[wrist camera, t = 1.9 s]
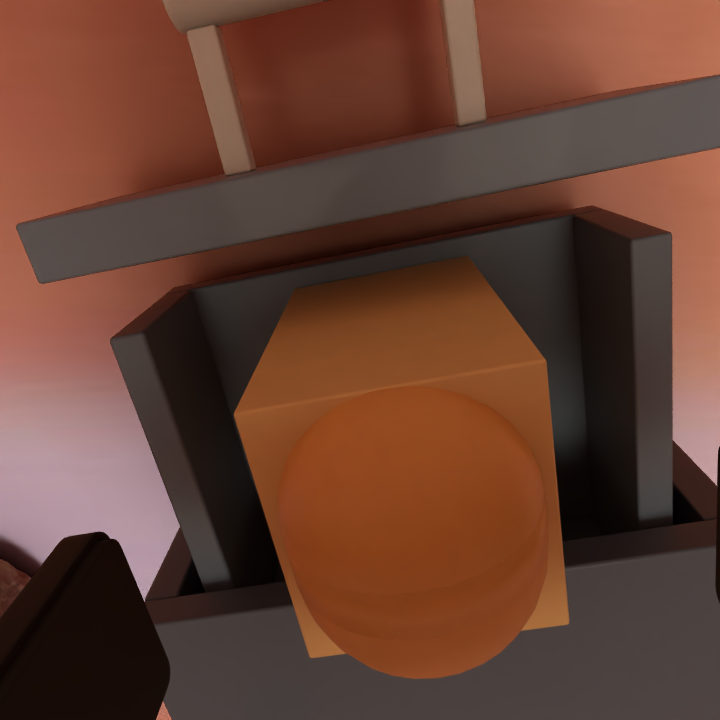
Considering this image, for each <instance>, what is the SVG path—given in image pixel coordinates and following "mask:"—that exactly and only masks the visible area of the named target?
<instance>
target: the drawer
mask: <svg viewBox="0 0 720 720" xmlns="http://www.w3.org/2000/svg"><path fill="white" fill-rule="evenodd" d="M323 1H328V0H162V2H163V5H164V7H165V9H166V12H167V14H168V16H169V18H170V20H171V22H172V23H173V25H174V27H175V28H176V29H177V31H178V32H179V33H181V34H187V37H188V41H189V45H190V48H191V52H192V56H193V59H194V63H195V67H196V70H197V74H198V78H199V81H200V85H201V89H202V92H203V96H204V100H205V103H206V107H207V111H208V114H209V118H210V122H211V125H212V129H213V133H214V136H215V140H216V144H217V147H218V151H219V155H220V158H221V162H222V166H223V169H224V173H225V174H222V175H218V176H213V177H208V178H204V179H199V180H194V181H190V182H185V183H180V184H176V185H171V186H166V187H161V188H157V189H152V190H147V191H143V192H138V193H133V194H129V195H124V196H119V197H116V198H112V199H108V200H104V201H101V202H97V203H93V204H89V205H86V206H82V207H78V208H75V209H71V210H67V211H63V212H60V213H56V214H52V215H48V216H45V217H41V218H37V219H33V220H30V221H26V222H22V223H19V224H17V225H16V229H17V231H18V233H19V236H20V238H21V241H22V243H23V246H24V248H25V250H26V253H27V255H28V258H29V260H30V262H31V265H32V267H33V270H34V272H35V275H36V277H37V279H38V282H39V283H41V284H45V283H50V282H55V281H60V280H65V279H70V278H74V277H79V276H84V275H89V274H94V273H99V272H104V271H109V270H114V269H119V268H124V267H129V266H134V265H139V264H144V263H149V262H154V261H159V260H164V259H169V258H174V257H179V256H184V255H189V254H194V253H199V252H204V251H209V250H214V249H219V248H224V247H229V246H234V245H239V244H244V243H249V242H254V241H259V240H264V239H268V238H273V237H278V236H283V235H288V234H293V233H298V232H303V231H308V230H313V229H318V228H323V227H328V226H333V225H338V224H343V223H348V222H353V221H358V220H363V219H368V218H373V217H378V216H383V215H388V214H393V213H398V212H403V211H408V210H413V209H418V208H423V207H428V206H433V205H438V204H443V203H448V202H453V201H458V200H463V199H467V198H472V197H477V196H482V195H487V194H492V193H497V192H502V191H507V190H512V189H517V188H522V187H527V186H532V185H537V184H542V183H547V182H552V181H557V180H562V179H567V178H572V177H577V176H582V175H587V174H592V173H597V172H602V171H607V170H612V169H617V168H622V167H627V166H632V165H637V164H642V163H647V162H652V161H657V160H661V159H666V158H671V157H676V156H681V155H686V154H691V153H696V152H701V151H706V150H711V149H716V148H720V75H714V76H707V77H701V78H694V79H688V80H681V81H675V82H669V83H662V84H656V85H649V86H643V87H636V88H630V89H624V90H617V91H612V92H607V93H602V94H598V95H593V96H588V97H584V98H579V99H574V100H570V101H565V102H560V103H555V104H551V105H546V106H541V107H537V108H532V109H527V110H523V111H518V112H513V113H509V114H504V115H499V116H495V117H490V118H487V115H486V106H485V97H484V88H483V79H482V70H481V61H480V51H479V42H478V33H477V24H476V15H475V6H474V0H439V6H440V14H441V21H442V29H443V37H444V45H445V52H446V60H447V68H448V75H449V83H450V91H451V99H452V106H453V114H454V122H455V125H452V126H448V127H443V128H438V129H434V130H429V131H424V132H419V133H415V134H410V135H405V136H401V137H396V138H391V139H387V140H382V141H377V142H373V143H368V144H363V145H358V146H354V147H349V148H344V149H340V150H335V151H330V152H326V153H321V154H316V155H312V156H307V157H302V158H297V159H293V160H288V161H283V162H279V163H274V164H269V165H265V166H260V167H256V164H255V160H254V156H253V152H252V148H251V144H250V140H249V136H248V132H247V128H246V125H245V121H244V117H243V113H242V109H241V105H240V101H239V97H238V93H237V89H236V85H235V81H234V77H233V73H232V69H231V65H230V61H229V57H228V53H227V49H226V45H225V41H224V38H223V34H222V30H221V29H220V28H218V26H223V25H227V24H231V23H235V22H239V21H244V20H248V19H252V18H256V17H260V16H265V15H269V14H273V13H277V12H281V11H286V10H290V9H294V8H298V7H302V6H307V5H311V4H315V3H319V2H323ZM463 256H468V257H469V258H470V259H471V261H472V262H473V263H474V265H475V266H476V267H477V269H478V270H479V271H480V273H481V274H482V275H483V277H484V278H485V279H486V281H487V282H488V283H489V285H490V286H491V287H492V289H493V290H494V291H495V293H496V294H497V295H498V297H499V298H500V299H501V301H502V302H503V303H504V305H505V306H506V307H507V309H508V310H509V312H510V313H511V314H512V316H513V317H514V318H515V320H516V321H517V322H518V324H519V325H520V326H521V328H522V329H523V330H524V332H525V333H526V334H527V336H528V337H529V338H530V340H531V341H532V342H533V344H534V345H535V346H536V348H537V349H538V350H539V352H540V353H541V354H542V356H543V357H544V358H545V360H546V363H547V374H548V385H549V397H550V408H551V419H552V431H553V442H554V453H555V465H556V476H557V487H558V499H559V510H560V521H561V533H562V541H568V540H574V539H581V538H588V537H595V536H602V535H609V534H616V533H623V532H630V531H637V530H644V529H651V528H658V527H665V526H672V525H673V442H672V234H671V232H668V231H665V230H662V229H659V228H656V227H653V226H651V225H648V224H645V223H642V222H639V221H636V220H633V219H630V218H628V217H625V216H622V215H619V214H616V213H613V212H610V211H608V210H604V209H601V208H598V207H595V206H587V207H581V208H576V209H571V210H566V211H561V212H556V213H551V214H546V215H541V216H536V217H530V218H525V219H520V220H515V221H510V222H505V223H500V224H495V225H490V226H485V227H479V228H474V229H469V230H464V231H459V232H454V233H449V234H444V235H439V236H434V237H428V238H423V239H418V240H413V241H408V242H403V243H398V244H393V245H388V246H383V247H377V248H372V249H367V250H362V251H357V252H352V253H347V254H342V255H337V256H331V257H326V258H321V259H316V260H311V261H306V262H301V263H296V264H291V265H286V266H280V267H275V268H270V269H265V270H260V271H255V272H250V273H245V274H240V275H235V276H229V277H224V278H219V279H214V280H209V281H204V282H199V283H194V284H189V285H184V286H178V287H174V288H173V289H172V290H170V291H169V292H168V293H167V294H165V296H163V297H162V298H161V299H159V300H158V301H157V302H156V303H154V304H153V305H152V306H151V307H149V308H148V309H147V310H146V311H144V312H143V313H142V314H141V315H140V316H138V317H137V318H136V319H135V320H133V321H132V322H131V323H130V324H128V325H127V326H126V327H125V328H123V329H122V330H121V331H120V332H118V333H117V334H116V335H115V336H113V337H112V338H111V339H110V344H111V346H112V349H113V351H114V354H115V357H116V359H117V362H118V364H119V367H120V370H121V372H122V375H123V378H124V380H125V383H126V385H127V388H128V391H129V393H130V396H131V399H132V401H133V404H134V406H135V409H136V412H137V414H138V417H139V420H140V422H141V425H142V427H143V430H144V433H145V435H146V438H147V441H148V443H149V446H150V448H151V451H152V454H153V456H154V459H155V462H156V464H157V467H158V469H159V472H160V475H161V477H162V480H163V482H164V485H165V488H166V490H167V493H168V496H169V498H170V501H171V503H172V506H173V509H174V511H175V514H176V517H177V519H178V522H179V524H180V527H181V530H182V532H183V535H184V538H185V540H186V543H187V545H188V548H189V551H190V553H191V556H192V559H193V561H194V564H195V566H196V569H197V572H198V574H199V577H200V580H201V582H202V585H203V587H204V590H205V593H207V592H214V591H221V590H228V589H235V588H242V587H249V586H256V585H262V584H269V583H276V582H283V581H285V577H284V574H283V571H282V568H281V565H280V561H279V558H278V555H277V552H276V549H275V545H274V542H273V539H272V536H271V533H270V530H269V526H268V523H267V520H266V517H265V514H264V510H263V507H262V504H261V501H260V498H259V494H258V491H257V488H256V485H255V482H254V478H253V475H252V472H251V469H250V466H249V463H248V459H247V456H246V453H245V450H244V447H243V443H242V440H241V437H240V434H239V431H238V427H237V424H236V421H235V418H234V412H235V410H236V408H237V406H238V404H239V402H240V400H241V398H242V396H243V394H244V392H245V390H246V388H247V386H248V383H249V381H250V379H251V377H252V375H253V373H254V371H255V369H256V367H257V365H258V363H259V361H260V359H261V357H262V355H263V353H264V351H265V349H266V347H267V345H268V343H269V340H270V338H271V336H272V334H273V332H274V330H275V328H276V326H277V324H278V322H279V320H280V318H281V316H282V314H283V312H284V310H285V308H286V306H287V304H288V302H289V300H290V297H291V295H292V293H293V291H294V289H297V288H302V287H307V286H312V285H317V284H323V283H328V282H333V281H338V280H343V279H349V278H354V277H359V276H364V275H369V274H375V273H380V272H385V271H390V270H396V269H401V268H406V267H411V266H416V265H422V264H427V263H432V262H437V261H442V260H448V259H453V258H458V257H463Z"/></svg>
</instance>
